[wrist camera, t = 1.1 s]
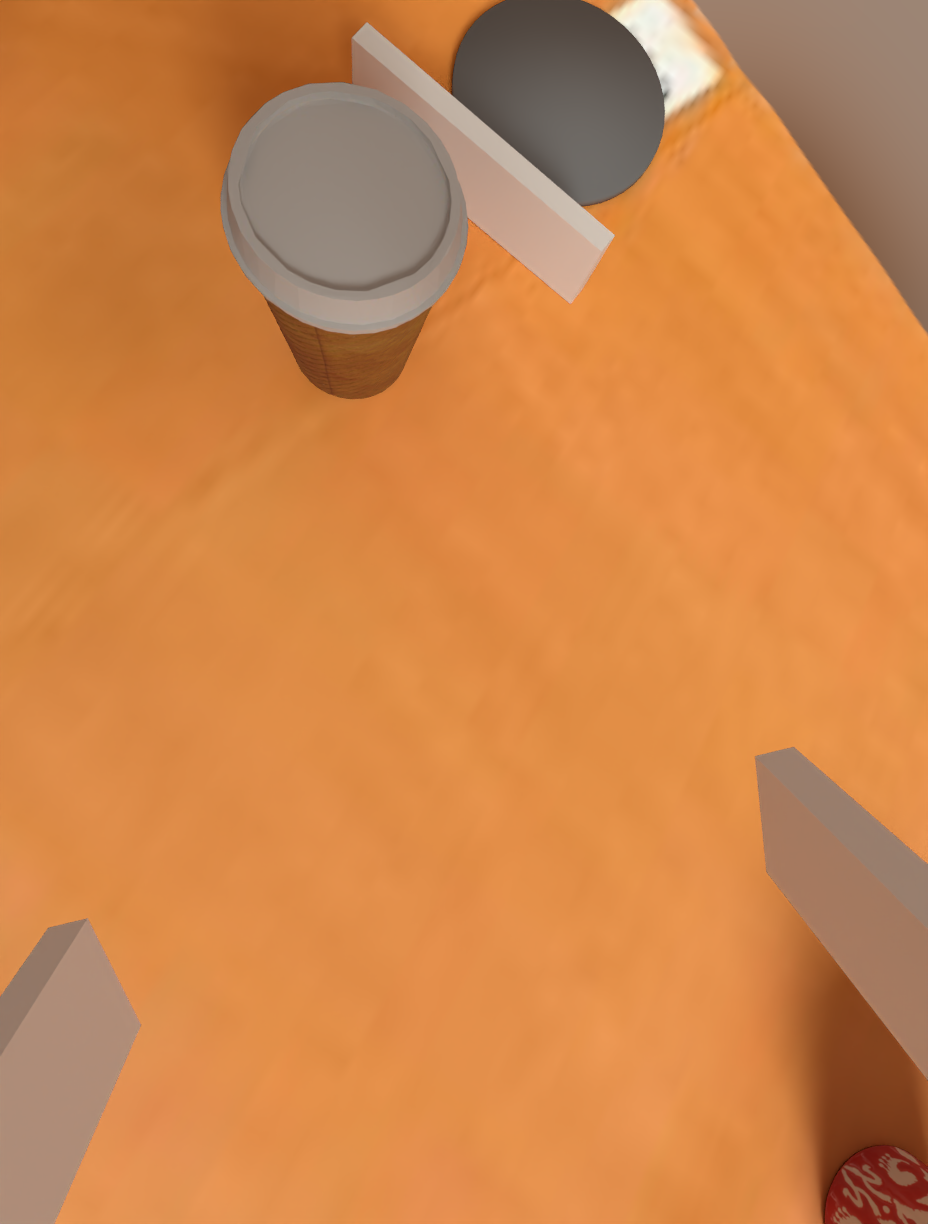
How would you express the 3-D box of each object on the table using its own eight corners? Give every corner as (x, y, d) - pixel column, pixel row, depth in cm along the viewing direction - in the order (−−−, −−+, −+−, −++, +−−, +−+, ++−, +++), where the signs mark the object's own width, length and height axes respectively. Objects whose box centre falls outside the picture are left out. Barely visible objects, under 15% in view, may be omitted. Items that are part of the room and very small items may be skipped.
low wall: (352, 120, 37) (351, 37, 32) (365, 106, 37) (366, 21, 32) (570, 304, 38) (601, 251, 34) (582, 289, 39) (614, 235, 34)
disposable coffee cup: (349, 227, 37) (345, 21, 25) (470, 350, 37) (523, 206, 26) (223, 337, 35) (155, 173, 23) (352, 463, 36) (349, 365, 24)
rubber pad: (406, 102, 38) (407, 94, 37) (537, -41, 40) (540, -49, 39) (580, 250, 39) (583, 245, 38) (699, 104, 41) (704, 97, 40)
